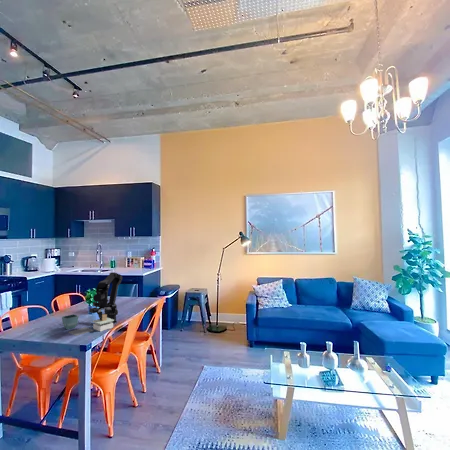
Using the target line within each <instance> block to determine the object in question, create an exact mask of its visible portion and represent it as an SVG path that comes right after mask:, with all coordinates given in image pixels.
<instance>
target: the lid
mask: <svg viewBox="0 0 450 450" xmlns="http://www.w3.org/2000/svg"><path fill="white" fill-rule="evenodd" d="M112 321H114V319H110V318H107V314H105V312H104V313H102V320H100V318H99V319H94V320H92V323H93V324H95V323H97V324H100V325H101V324H104V323H108V322H112Z"/></svg>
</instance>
